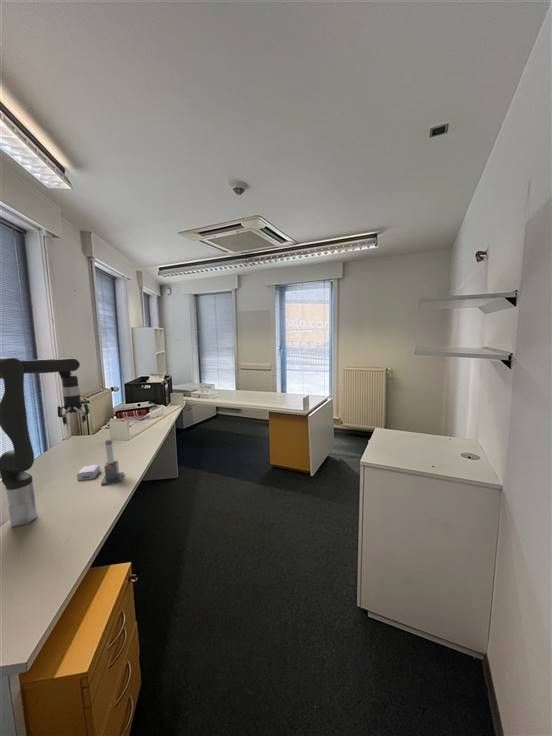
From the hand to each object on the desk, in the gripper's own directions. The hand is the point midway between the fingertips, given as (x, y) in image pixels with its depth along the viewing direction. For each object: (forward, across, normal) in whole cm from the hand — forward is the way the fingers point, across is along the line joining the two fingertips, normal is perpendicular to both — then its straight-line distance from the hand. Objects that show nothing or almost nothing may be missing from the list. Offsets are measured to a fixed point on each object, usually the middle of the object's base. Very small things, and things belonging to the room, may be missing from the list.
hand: (75, 422), depth 160 cm
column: (+29, +16, -2) cm, 33 cm away
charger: (+37, +2, +13) cm, 39 cm away
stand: (+36, +16, -2) cm, 40 cm away
